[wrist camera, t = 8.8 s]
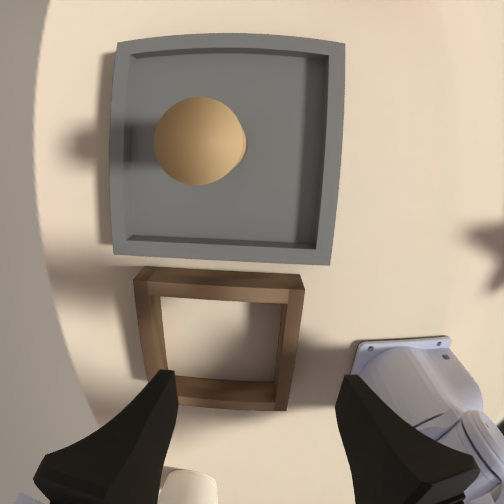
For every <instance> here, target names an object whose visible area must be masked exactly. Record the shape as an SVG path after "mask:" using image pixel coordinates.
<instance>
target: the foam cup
mask: <svg viewBox="0 0 504 504" xmlns="http://www.w3.org/2000/svg"><path fill="white" fill-rule="evenodd" d="M216 487H217V485H216V482H215V480H214V479H212V478H211V477H210V476H208V475H205V474H203V473H200V472H196V471H190V470H176V471H173V472H170V473H169V475H168V476H167V479H166V481H165V483H164V486H163V488H162V491H161V493H160V495H159V498H158V502H157V504H218V497H217V488H216Z"/></svg>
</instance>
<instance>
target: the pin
mask: <svg viewBox="0 0 504 504" xmlns="http://www.w3.org/2000/svg"><path fill="white" fill-rule="evenodd" d="M247 148H248V142H247V137H246V135H245V133H244V131H243V129H242V127H241V125H240V123H239V121H238V119H237V117H236V116H235V114H234V113H233V112H232V111H231V109H229V108H228V107H227V106H226V105H224V104H223V103H221V102H219V101H217V100H215V99H212V98H207V97H192V98H188V99H185V100H182V101H180V102H178V103H176V104H175V105H173V106H172V107H170V108H169V109H168V110H167V111H166V112H165V113H164V115H163V116H162V117H161V119H160V120H159V122H158V124H157V127H156V130H155V134H154V151H155V155H156V158H157V161H158V163H159V164H160V166H161V168H162V169H163V170H164V171H165V172H166V173H167V174H168V175H169V176H170V177H172V178H173V179H175V180H177V181H179V182H181V183H184V184H188V185H205V184H209V183H212V182H215V181H217V180H219V179H221V178H222V177H224V176H225V175H226V174H227V173H229V172H230V171H231V170H232V169H233V168H234V167H235V166H236V165H237V164H239V163H240V162H241V161H242V159H243V158H244V156H245V155H246V152H247Z"/></svg>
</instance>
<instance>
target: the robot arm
mask: <svg viewBox="0 0 504 504" xmlns="http://www.w3.org/2000/svg"><path fill="white" fill-rule="evenodd" d="M438 342H439V343H438ZM437 343H438V344H437ZM450 344H451V338H450V337H448V336H447V337H436V338H423V339H408V340H391V341H367V342H362V343H360V344H359V346H358V349H357V353H356V357H355V360H354V364H353V367H352V371H351V374H350V375H344V379H343V382H342V385H341V389H340V392H339V395H338V398H337V402H336V405H335V411H336V418H337V424H338V428H339V432H340V435H341V438H342V442H343V445H344V448H345V452H346V455H347V458H348V462H349V465H350V469H351V474H352V480H353V486H354V494H355V502H356V504H504V436H503V435H502V433H501V432H500V430H499V429H498V428H497V427H496V425H495V424H494V423H493V422H492V421H491V420H490V419H489V418H488V416H486V415H485V414H484V413H483V398H482V394H481V391H480V388H479V386H478V384H477V383H476V381H475V380H474V379H473V377H472V376H471V375H470V374H469V372H468V371H467V370H466V369H465V367H464V366H463V365H462V363H461V362H460V361H459V360H458V358H457V357H456V356H455V355H454V354H453V352H452V351H451V350H450V349H449V346H450ZM370 346H372V347H371V348H369V349H368V347H370ZM178 405H179V402H178V395H177V388H176V381H175V373H174V371H172V370H163V369H160V370H159V371H158V372H157V373H156V374H155V376H154V377H153V378H152V379H151V380H150V382H149V383H148V384H147V385H146V386H145V387H144V389H143V390H142V391H141V392H140V393H139V394H138V395H137V396H136V397H135V398H134V399H133V401H132V402H131V403H129V404H128V405H127V406H126V407H125V408H124V409H123V410H122V411H121V412H120V413H119V414H118V415H117V416H115V417H114V418H113V419H112V420H111V421H109V422H108V423H107V424H105V425H104V426H103V427H101V428H100V429H98V430H97V431H95V432H94V433H92V434H91V435H89V436H87V437H86V438H84V439H82V440H80V441H78V442H76V443H74V444H72V445H70V446H68V447H66V448H63V449H61V450H58V451H55V452H53V453H50V454H47V455H45V457H44V458H43V460H42V461H41V464H40V465H39V468H38V469H37V472H36V474H35V476H34V478H33V480H34V483H35V485H36V486H37V487H38V488H39V490H41V492H42V493H43V494H44V495H45V496H46V497H47V498H48V499H49V500H50V504H157V502H158V494H159V487H160V480H161V474H162V469H163V464H164V461H165V457H166V454H167V450H168V447H169V444H170V440H171V437H172V434H173V430H174V427H175V423H176V417H177V411H178ZM14 504H44V503H42V502H40V501H38V500H36V499H34V498H32V497H29V496H28V495H26V494H24V493H22V492H20V493H19V494H18V496H17V498H16V501H15V502H14Z"/></svg>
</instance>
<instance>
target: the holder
mask: <svg viewBox="0 0 504 504" xmlns="http://www.w3.org/2000/svg"><path fill="white" fill-rule="evenodd" d="M133 284H134V293H135V302H136V310H137V318H138V325H139V332H140V338H141V345H142V351H143V357H144V363H145V368H146V374H147V379H148V383H149V382H150V380H151V379H152V378H153V377H154V376H155V374H156V373H157V372H158V371H159V370H160V369H163V370H168V367H167V359H166V351H165V342H164V333H163V323H162V313H161V301H160V296H165V297H177V298H191V299H206V300H222V301H240V302H260V303H283V306H282V315H281V325H280V334H279V343H278V351H277V360H276V368H275V377H274V382H246V381H228V380H214V379H202V378H191V377H182V376H175V381H176V388H177V395H178V402H179V405H188V406H197V407H207V408H219V409H234V410H256V411H286V410H287V405H288V399H289V393H290V387H291V382H292V376H293V370H294V363H295V357H296V351H297V344H298V337H299V330H300V323H301V316H302V309H303V302H304V294H305V288H304V285H303V282H302V279H301V277H300V275H297V274H275V273H253V272H234V271H215V270H197V269H180V268H164V267H148V266H145V267H144V268H143V269H142V270H141V271H140V273H139V274H138V275H137V276H136V277H135V278H134V280H133Z"/></svg>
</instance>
